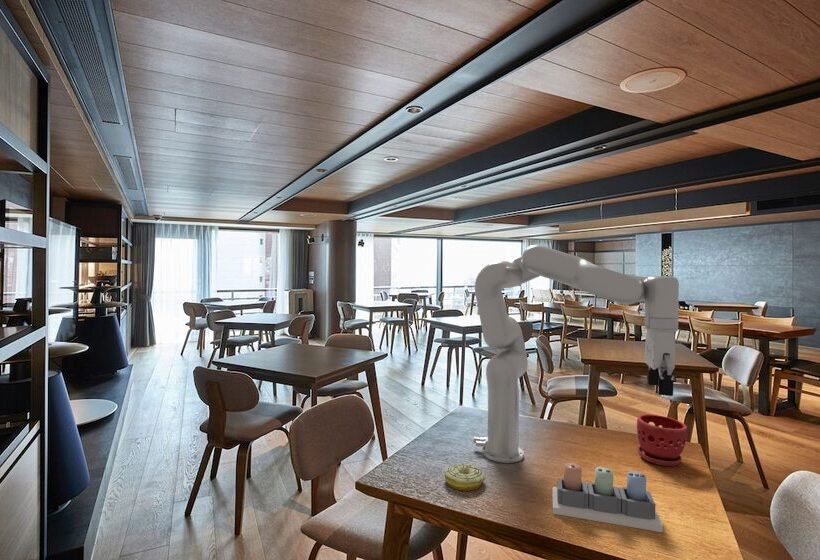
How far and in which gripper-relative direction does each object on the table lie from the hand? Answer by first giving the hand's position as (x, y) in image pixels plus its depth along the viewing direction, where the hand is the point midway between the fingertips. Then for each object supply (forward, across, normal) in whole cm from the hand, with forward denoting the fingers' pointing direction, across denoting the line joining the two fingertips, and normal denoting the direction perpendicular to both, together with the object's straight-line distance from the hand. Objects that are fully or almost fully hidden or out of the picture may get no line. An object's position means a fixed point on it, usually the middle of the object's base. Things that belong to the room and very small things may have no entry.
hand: (659, 389), depth 112 cm
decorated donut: (+27, +10, -49) cm, 57 cm away
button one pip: (+22, +14, -22) cm, 34 cm away
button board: (+27, +14, -15) cm, 34 cm away
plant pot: (+27, -21, +6) cm, 35 cm away
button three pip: (+22, +14, -8) cm, 27 cm away
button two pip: (+22, +14, -15) cm, 30 cm away
